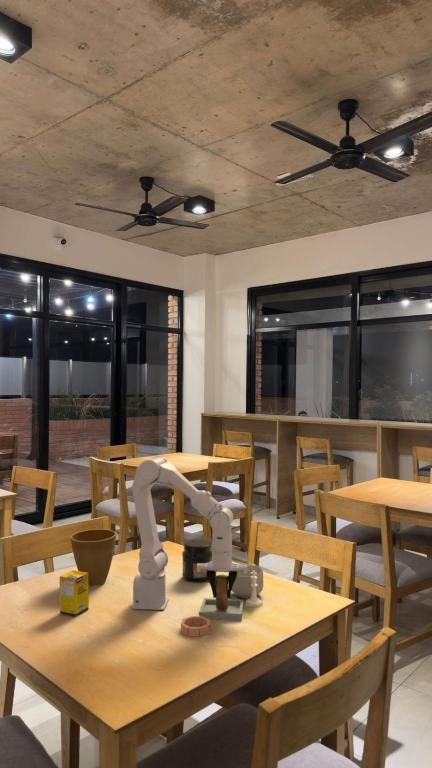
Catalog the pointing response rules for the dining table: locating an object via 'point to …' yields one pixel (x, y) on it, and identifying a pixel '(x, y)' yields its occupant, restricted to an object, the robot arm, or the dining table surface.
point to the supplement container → (196, 559)
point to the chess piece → (253, 593)
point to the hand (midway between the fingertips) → (222, 596)
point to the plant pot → (94, 553)
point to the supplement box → (74, 593)
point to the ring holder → (195, 630)
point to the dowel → (221, 592)
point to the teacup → (248, 582)
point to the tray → (231, 613)
